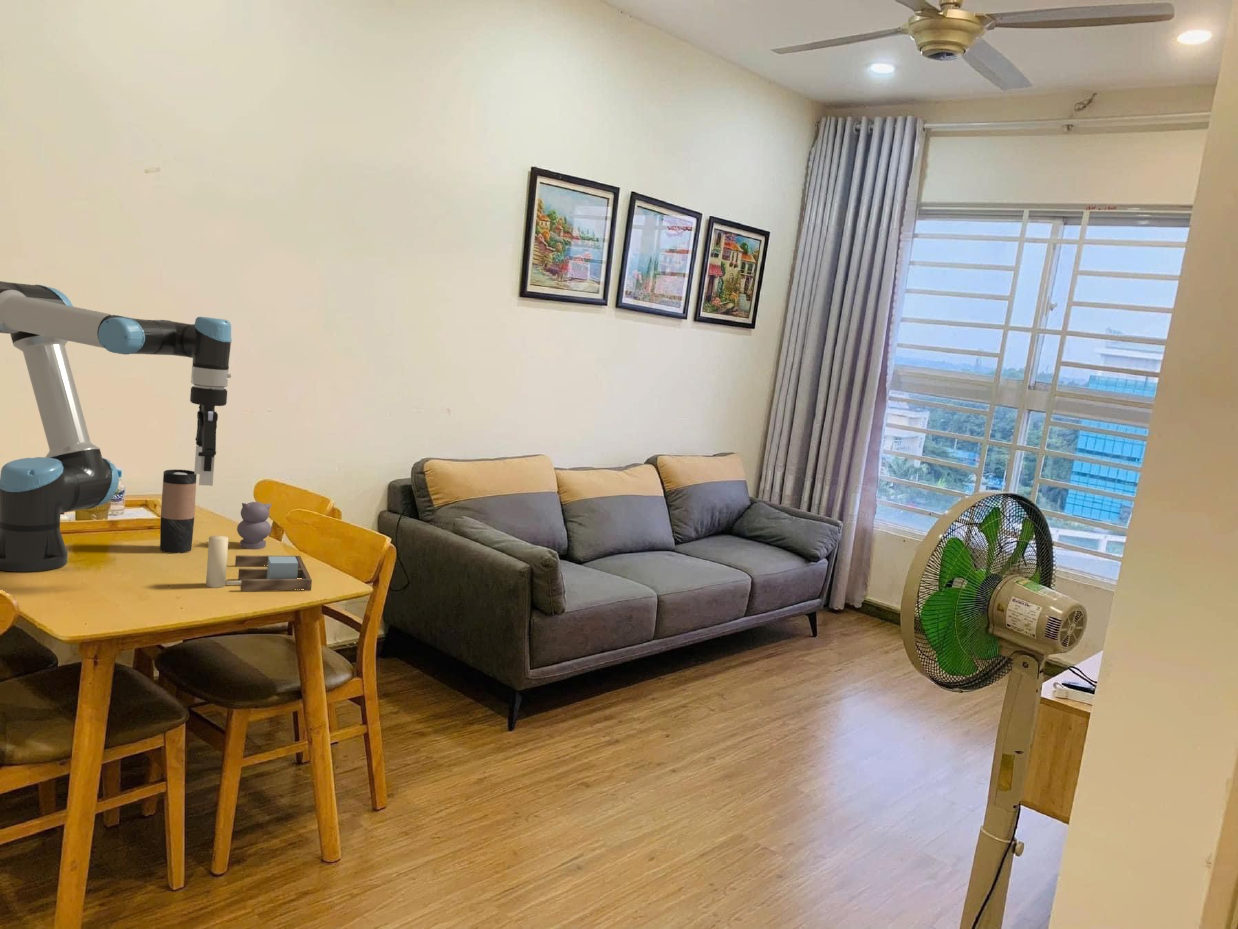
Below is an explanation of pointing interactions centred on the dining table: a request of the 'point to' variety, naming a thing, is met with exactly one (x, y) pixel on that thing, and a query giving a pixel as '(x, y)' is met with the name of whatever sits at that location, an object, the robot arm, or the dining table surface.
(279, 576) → the tethered block
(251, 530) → the cat figurine
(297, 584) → the lane rack
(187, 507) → the travel mug
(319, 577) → the dining table surface
